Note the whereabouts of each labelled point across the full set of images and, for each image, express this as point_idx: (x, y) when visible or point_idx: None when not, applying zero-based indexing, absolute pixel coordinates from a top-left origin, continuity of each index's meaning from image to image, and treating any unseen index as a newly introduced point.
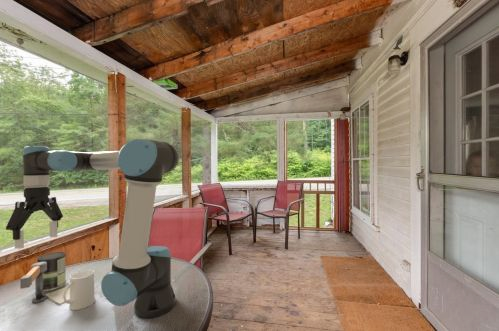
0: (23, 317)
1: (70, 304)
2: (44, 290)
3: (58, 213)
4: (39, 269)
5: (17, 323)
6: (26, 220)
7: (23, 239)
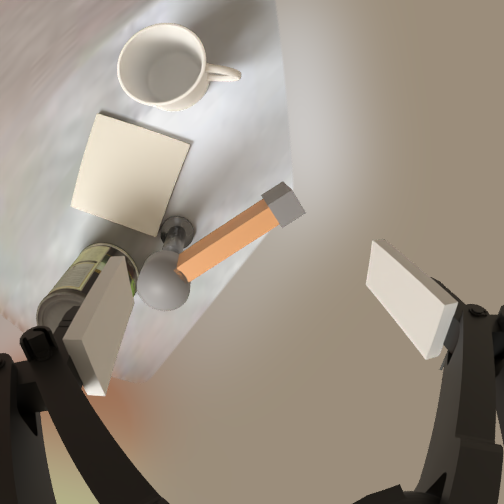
0: (256, 190)
1: (203, 91)
2: (135, 266)
3: (11, 406)
4: (181, 259)
5: (281, 179)
6: (466, 367)
7: (403, 263)
